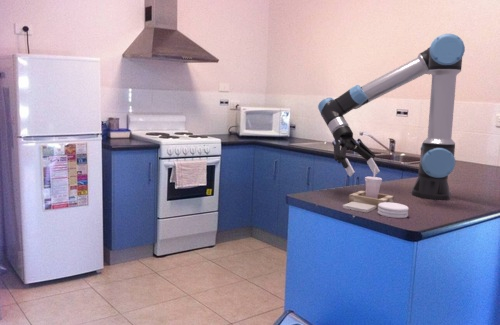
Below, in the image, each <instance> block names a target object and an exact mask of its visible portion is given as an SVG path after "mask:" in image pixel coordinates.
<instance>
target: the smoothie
mask: <svg viewBox="0 0 500 325" xmlns="http://www.w3.org/2000/svg"><path fill="white" fill-rule="evenodd" d="M375 172H376V166H374V174H373V176H365V177H364V181H365V191H366V197H371V198H378V194H379V193H380V188H381V184H382V182H383V179H382V177H377V176H376V175H375Z"/></svg>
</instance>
